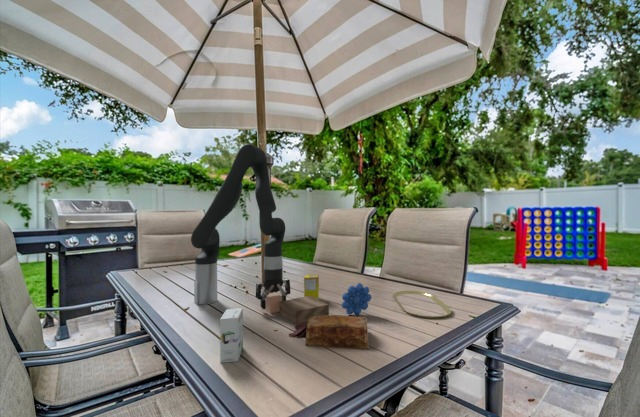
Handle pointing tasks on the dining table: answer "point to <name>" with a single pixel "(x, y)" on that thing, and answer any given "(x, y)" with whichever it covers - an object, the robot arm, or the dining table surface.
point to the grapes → (356, 299)
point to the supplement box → (311, 286)
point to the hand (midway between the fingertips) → (273, 307)
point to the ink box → (231, 335)
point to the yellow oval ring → (427, 296)
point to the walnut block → (303, 309)
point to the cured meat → (334, 331)
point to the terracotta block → (273, 303)
